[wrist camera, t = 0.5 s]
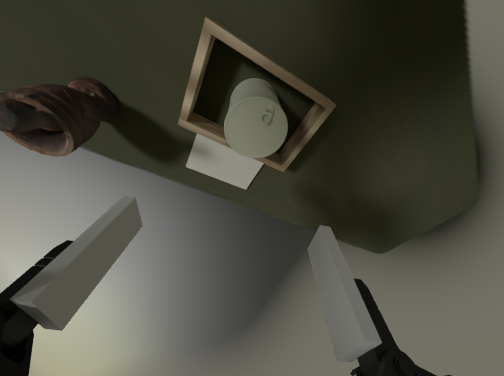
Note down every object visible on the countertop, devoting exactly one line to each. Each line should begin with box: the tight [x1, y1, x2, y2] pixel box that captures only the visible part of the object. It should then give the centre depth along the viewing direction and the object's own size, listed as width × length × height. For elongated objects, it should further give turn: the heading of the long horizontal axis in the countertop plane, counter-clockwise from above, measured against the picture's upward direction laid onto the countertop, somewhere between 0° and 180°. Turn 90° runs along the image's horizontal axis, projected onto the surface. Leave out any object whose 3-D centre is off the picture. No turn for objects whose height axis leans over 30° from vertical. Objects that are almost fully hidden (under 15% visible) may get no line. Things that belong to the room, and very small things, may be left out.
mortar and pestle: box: [0, 78, 118, 156], centre depth 25 cm, size 12×9×20 cm
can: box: [224, 78, 288, 158], centre depth 30 cm, size 9×9×12 cm
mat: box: [186, 134, 264, 190], centre depth 42 cm, size 11×16×1 cm
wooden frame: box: [178, 17, 336, 172], centre depth 32 cm, size 15×22×5 cm
